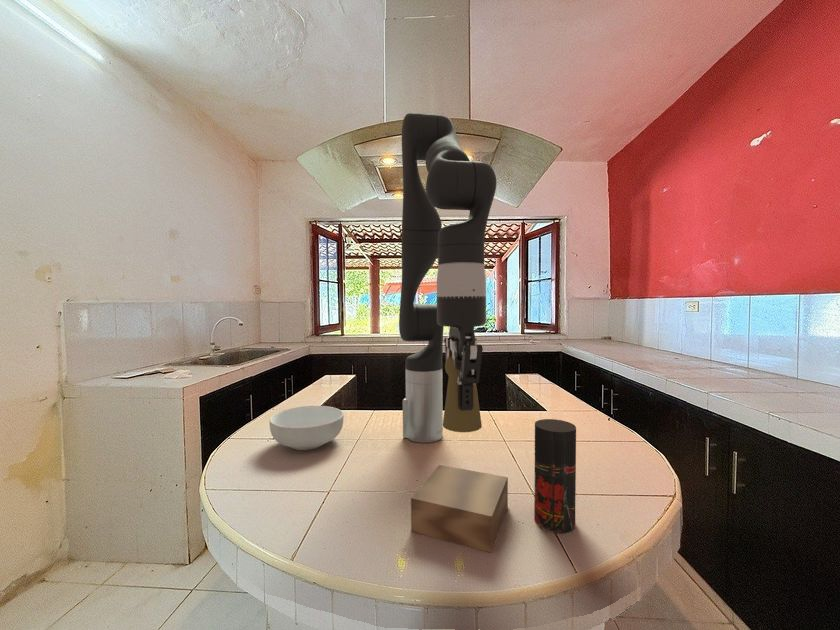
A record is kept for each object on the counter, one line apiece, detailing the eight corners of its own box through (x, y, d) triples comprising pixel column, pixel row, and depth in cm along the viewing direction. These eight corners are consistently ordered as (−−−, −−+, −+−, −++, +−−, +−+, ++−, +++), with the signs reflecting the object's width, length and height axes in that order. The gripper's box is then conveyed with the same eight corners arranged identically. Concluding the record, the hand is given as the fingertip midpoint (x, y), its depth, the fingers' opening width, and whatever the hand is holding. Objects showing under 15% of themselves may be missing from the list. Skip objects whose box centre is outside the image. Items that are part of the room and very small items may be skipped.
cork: (486, 421, 59) (486, 353, 58) (475, 434, 53) (475, 359, 53) (450, 417, 61) (450, 351, 61) (436, 428, 56) (436, 356, 55)
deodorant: (528, 511, 60) (528, 419, 59) (563, 509, 60) (564, 418, 59) (543, 534, 54) (544, 432, 53) (583, 532, 54) (583, 431, 54)
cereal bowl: (286, 466, 77) (285, 432, 77) (260, 443, 89) (259, 414, 89) (357, 444, 88) (356, 415, 88) (324, 427, 101) (324, 401, 100)
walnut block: (411, 531, 55) (410, 498, 54) (439, 492, 66) (439, 464, 65) (491, 552, 50) (491, 516, 50) (507, 506, 61) (507, 477, 61)
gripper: (501, 293, 50) (501, 418, 51) (471, 295, 64) (471, 393, 65) (447, 293, 49) (448, 421, 50) (428, 295, 63) (429, 395, 64)
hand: (461, 404), depth 57 cm, fingers closed on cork, 4 cm apart
